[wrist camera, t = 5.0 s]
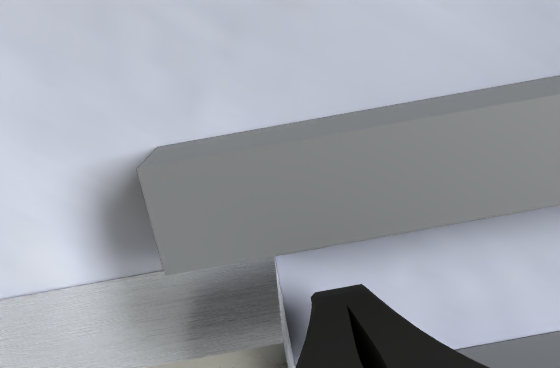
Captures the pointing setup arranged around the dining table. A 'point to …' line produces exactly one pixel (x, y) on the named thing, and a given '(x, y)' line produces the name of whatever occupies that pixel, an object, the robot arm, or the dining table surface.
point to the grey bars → (362, 184)
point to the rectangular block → (153, 322)
